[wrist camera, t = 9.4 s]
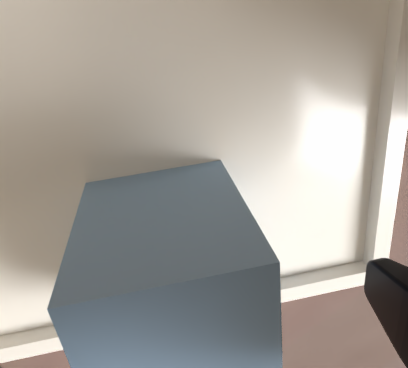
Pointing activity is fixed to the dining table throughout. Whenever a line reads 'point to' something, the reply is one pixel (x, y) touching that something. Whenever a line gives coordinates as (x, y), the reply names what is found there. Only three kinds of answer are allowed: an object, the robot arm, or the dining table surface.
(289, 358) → the dining table surface
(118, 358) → the block
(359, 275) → the dish
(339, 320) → the dining table surface
